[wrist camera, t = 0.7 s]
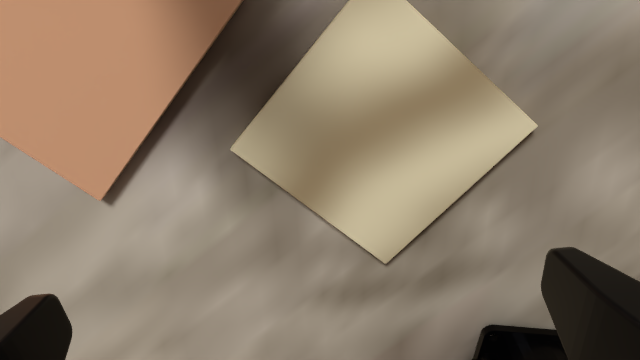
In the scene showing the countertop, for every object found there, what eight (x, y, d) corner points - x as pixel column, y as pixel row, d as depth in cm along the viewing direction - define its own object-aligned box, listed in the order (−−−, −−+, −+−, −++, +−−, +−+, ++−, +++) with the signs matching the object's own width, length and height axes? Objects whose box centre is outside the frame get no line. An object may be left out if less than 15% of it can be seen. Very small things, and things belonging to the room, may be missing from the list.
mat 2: (532, 121, 19) (538, 125, 19) (384, 256, 22) (385, 264, 22) (373, -30, 17) (374, -30, 16) (232, 144, 20) (230, 149, 19)
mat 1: (244, -1, 17) (241, 0, 17) (105, 194, 21) (99, 201, 21) (-36, -239, 15) (-50, -246, 14) (-138, 36, 18) (-152, 39, 18)
